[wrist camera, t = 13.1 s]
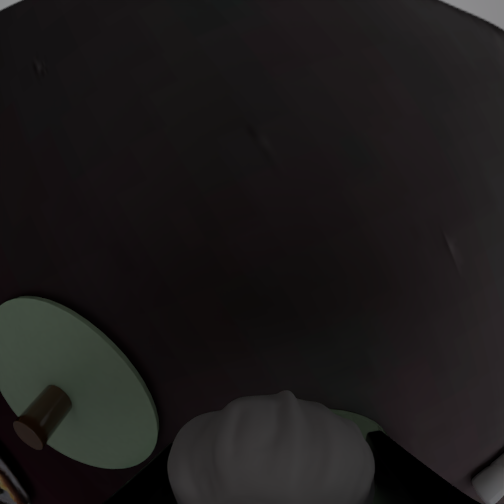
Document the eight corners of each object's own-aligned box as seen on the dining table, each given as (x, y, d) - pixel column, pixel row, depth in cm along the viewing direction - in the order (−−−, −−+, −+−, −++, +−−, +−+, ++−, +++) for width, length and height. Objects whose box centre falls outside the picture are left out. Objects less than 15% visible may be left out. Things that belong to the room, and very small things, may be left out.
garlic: (395, 407, 9) (453, 528, 4) (296, 490, 10) (303, 597, 5) (243, 323, 8) (219, 487, 3) (159, 433, 9) (113, 553, 4)
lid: (36, 441, 21) (9, 477, 15) (-27, 292, 17) (-74, 317, 12) (182, 470, 20) (168, 526, 14) (131, 289, 16) (80, 335, 11)
